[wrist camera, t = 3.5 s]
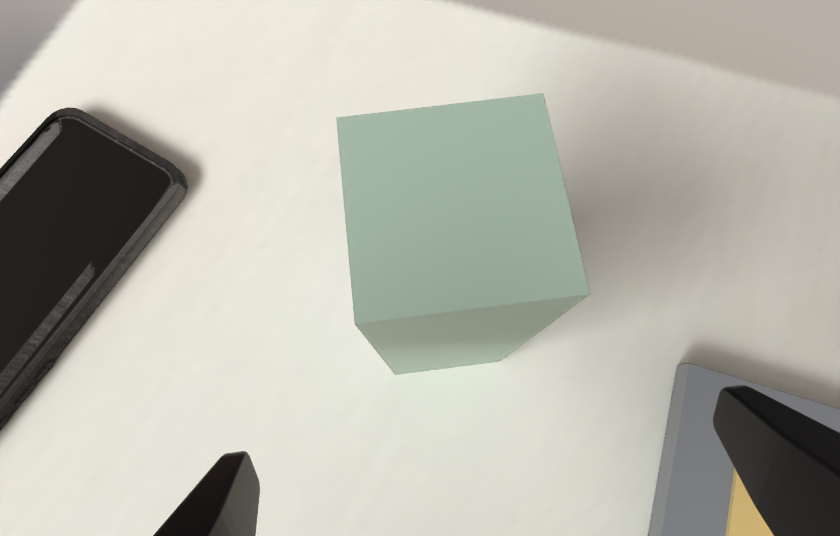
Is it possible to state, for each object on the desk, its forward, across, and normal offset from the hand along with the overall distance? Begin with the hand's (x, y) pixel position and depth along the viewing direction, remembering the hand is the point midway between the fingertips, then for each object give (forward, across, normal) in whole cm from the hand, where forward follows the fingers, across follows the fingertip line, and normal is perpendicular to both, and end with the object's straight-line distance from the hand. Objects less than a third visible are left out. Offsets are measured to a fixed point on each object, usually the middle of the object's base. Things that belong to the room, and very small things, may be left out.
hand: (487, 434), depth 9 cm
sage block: (+11, 0, +5) cm, 12 cm away
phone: (+14, +18, +2) cm, 23 cm away
